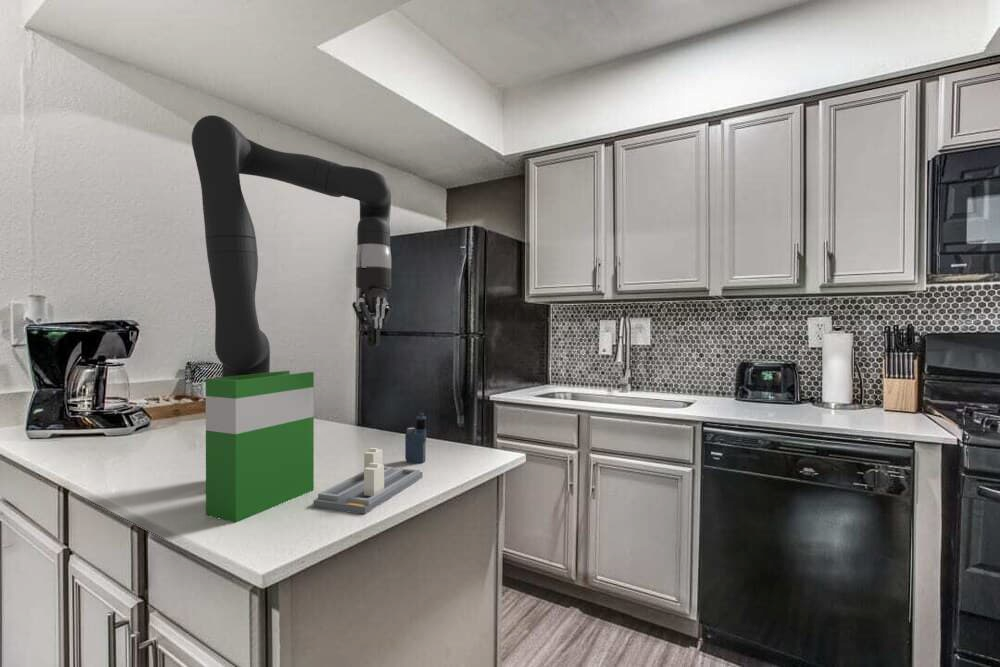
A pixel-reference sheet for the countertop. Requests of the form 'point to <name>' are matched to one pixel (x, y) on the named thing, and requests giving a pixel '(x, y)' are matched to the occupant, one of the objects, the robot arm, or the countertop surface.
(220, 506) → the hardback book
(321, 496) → the switch board
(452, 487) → the countertop surface
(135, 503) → the countertop surface
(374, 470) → the tab
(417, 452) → the vaping device
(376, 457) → the tab
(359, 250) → the robot arm
